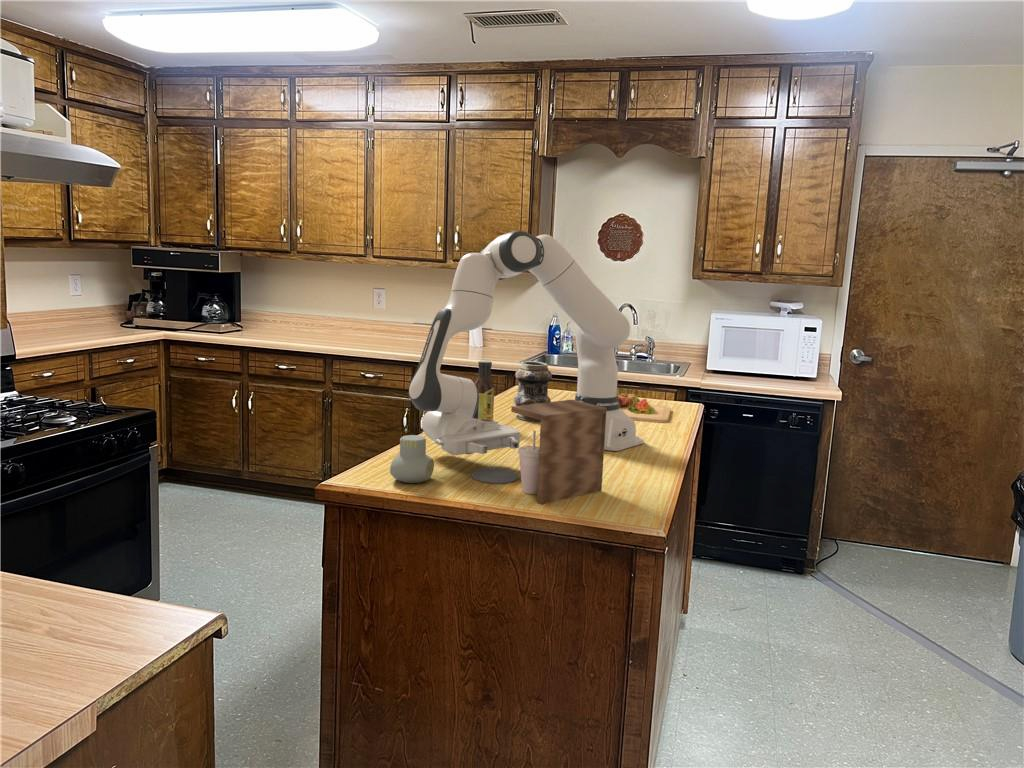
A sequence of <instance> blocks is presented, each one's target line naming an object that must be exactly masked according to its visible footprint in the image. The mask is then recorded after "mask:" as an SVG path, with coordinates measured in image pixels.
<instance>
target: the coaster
mask: <svg viewBox="0 0 1024 768" xmlns="http://www.w3.org/2000/svg"><path fill="white" fill-rule="evenodd" d="M519 475H520V474H519V473H518V472H516V471H514V470H511V469H507V468H497V467H492V468H491V467H487V468H480V469H476V470H474V471H473V472H472V473H471V477H473V478H474V479H473V478H472V479H473V480H475V481H477V482H480V483H484V482H485V484H491V483H492V485H495V484H496V485H500V484H501V485H504V484H510V483H514V482H517V481H518V480H519V477H520V476H519Z"/></svg>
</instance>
